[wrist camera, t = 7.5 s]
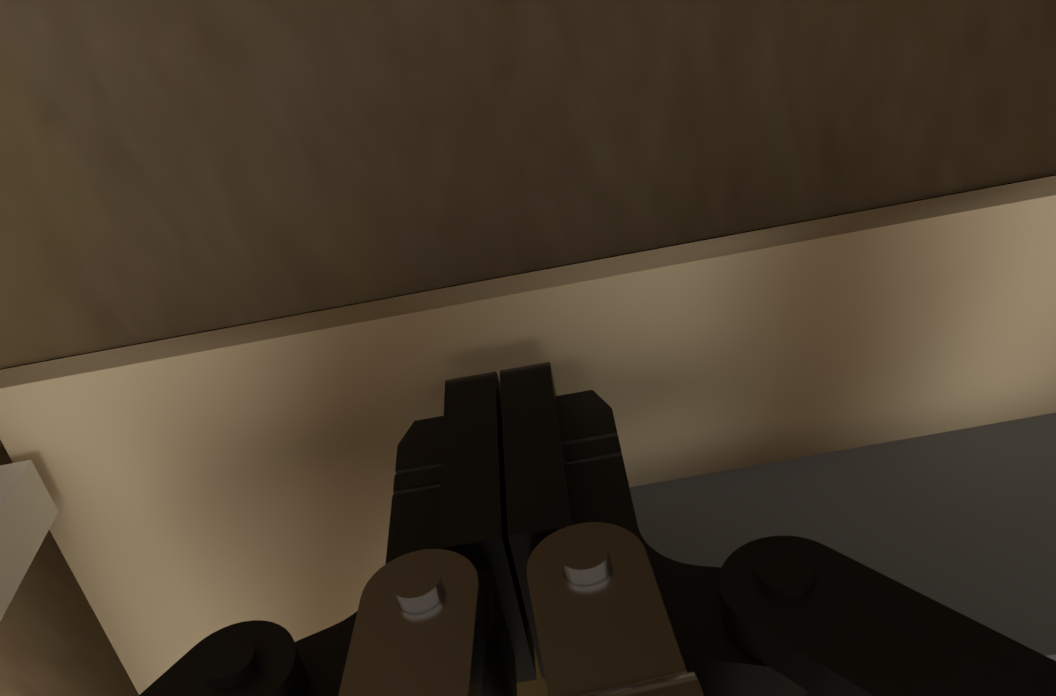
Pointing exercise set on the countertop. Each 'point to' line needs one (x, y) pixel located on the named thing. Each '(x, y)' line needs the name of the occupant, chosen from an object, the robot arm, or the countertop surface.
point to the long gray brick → (892, 519)
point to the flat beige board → (492, 345)
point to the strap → (21, 524)
